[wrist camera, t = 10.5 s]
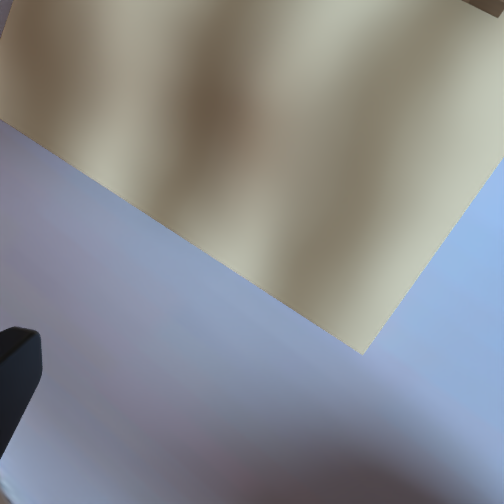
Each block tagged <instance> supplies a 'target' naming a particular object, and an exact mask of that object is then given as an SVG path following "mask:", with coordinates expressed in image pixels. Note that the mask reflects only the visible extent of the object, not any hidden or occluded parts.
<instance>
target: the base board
mask: <svg viewBox="0 0 504 504" xmlns="http://www.w3.org/2000/svg"><path fill="white" fill-rule="evenodd" d="M0 119H1V120H2V121H4V122H6V123H7V124H9V125H10V126H12V127H13V128H15V129H16V130H18V131H19V132H21V133H22V134H24V135H25V136H27V137H29V138H30V139H32V140H33V141H35V142H36V143H38V144H39V145H41V146H42V147H44V148H45V149H47V150H49V151H50V152H52V153H53V154H55V155H56V156H58V157H59V158H61V159H62V160H64V161H65V162H67V163H68V164H70V165H72V166H73V167H75V168H76V169H78V170H79V171H81V172H82V173H84V174H85V175H87V176H88V177H90V178H91V179H93V180H95V181H96V182H98V183H99V184H101V185H102V186H104V187H105V188H107V189H108V190H110V191H111V192H113V193H115V194H116V195H118V196H119V197H121V198H122V199H124V200H125V201H127V202H128V203H130V204H131V205H133V206H134V207H136V208H138V209H139V210H141V211H142V212H144V213H145V214H147V215H148V216H150V217H151V218H153V219H154V220H156V221H157V222H159V223H161V224H162V225H164V226H165V227H167V228H168V229H170V230H171V231H173V232H174V233H176V234H177V235H179V236H181V237H182V238H184V239H185V240H187V241H188V242H190V243H191V244H193V245H194V246H196V247H197V248H199V249H200V250H202V251H204V252H205V253H207V254H208V255H210V256H211V257H213V258H214V259H216V260H217V261H219V262H220V263H222V264H223V265H225V266H227V267H228V268H230V269H231V270H233V271H234V272H236V273H237V274H239V275H240V276H242V277H243V278H245V279H247V280H248V281H250V282H251V283H253V284H254V285H256V286H257V287H259V288H260V289H262V290H263V291H265V292H266V293H268V294H270V295H271V296H273V297H274V298H276V299H277V300H279V301H280V302H282V303H283V304H285V305H286V306H288V307H289V308H291V309H293V310H294V311H296V312H297V313H299V314H300V315H302V316H303V317H305V318H306V319H308V320H309V321H311V322H312V323H314V324H316V325H317V326H319V327H320V328H322V329H323V330H325V331H326V332H328V333H329V334H331V335H332V336H334V337H336V338H337V339H339V340H340V341H342V342H343V343H345V344H346V345H348V346H349V347H351V348H352V349H354V350H355V351H357V352H359V353H360V354H362V355H363V354H364V353H365V351H366V350H367V349H368V347H369V346H370V344H371V343H372V342H373V340H374V339H375V337H376V336H377V335H378V333H379V332H380V330H381V329H382V328H383V326H384V325H385V323H386V322H387V320H388V319H389V318H390V316H391V315H392V313H393V312H394V311H395V309H396V308H397V306H398V305H399V304H400V302H401V301H402V299H403V298H404V297H405V295H406V294H407V292H408V291H409V290H410V288H411V287H412V285H413V284H414V282H415V281H416V280H417V278H418V277H419V275H420V274H421V273H422V271H423V270H424V268H425V267H426V266H427V264H428V263H429V261H430V260H431V259H432V257H433V256H434V254H435V253H436V252H437V250H438V249H439V247H440V246H441V245H442V243H443V242H444V240H445V239H446V237H447V236H448V235H449V233H450V232H451V230H452V229H453V228H454V226H455V225H456V223H457V222H458V221H459V219H460V218H461V216H462V215H463V214H464V212H465V211H466V209H467V208H468V207H469V205H470V204H471V202H472V201H473V200H474V198H475V197H476V195H477V194H478V192H479V191H480V190H481V188H482V187H483V185H484V184H485V183H486V181H487V180H488V178H489V177H490V176H491V174H492V173H493V171H494V170H495V169H496V167H497V166H498V164H499V163H500V162H501V160H502V159H503V157H504V0H13V3H12V6H11V9H10V12H9V15H8V18H7V20H6V23H5V26H4V29H3V32H2V35H1V38H0Z"/></svg>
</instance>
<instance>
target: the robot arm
mask: <svg viewBox="0 0 504 504" xmlns="http://www.w3.org/2000/svg"><path fill="white" fill-rule="evenodd" d="M41 375H42V349H41V337H40V334H39V333H38V332H37V331H36V330H32V329H27V328H22V327H11V328H8V329H6V330H4V331H1V332H0V459H1V457H2V455H3V453H4V451H5V449H6V447H7V445H8V443H9V441H10V439H11V437H12V435H13V433H14V431H15V429H16V427H17V425H18V423H19V421H20V419H21V417H22V415H23V413H24V411H25V409H26V407H27V405H28V403H29V401H30V399H31V398H32V396H33V394H34V392H35V390H36V388H37V386H38V384H39V381H40V378H41Z"/></svg>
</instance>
